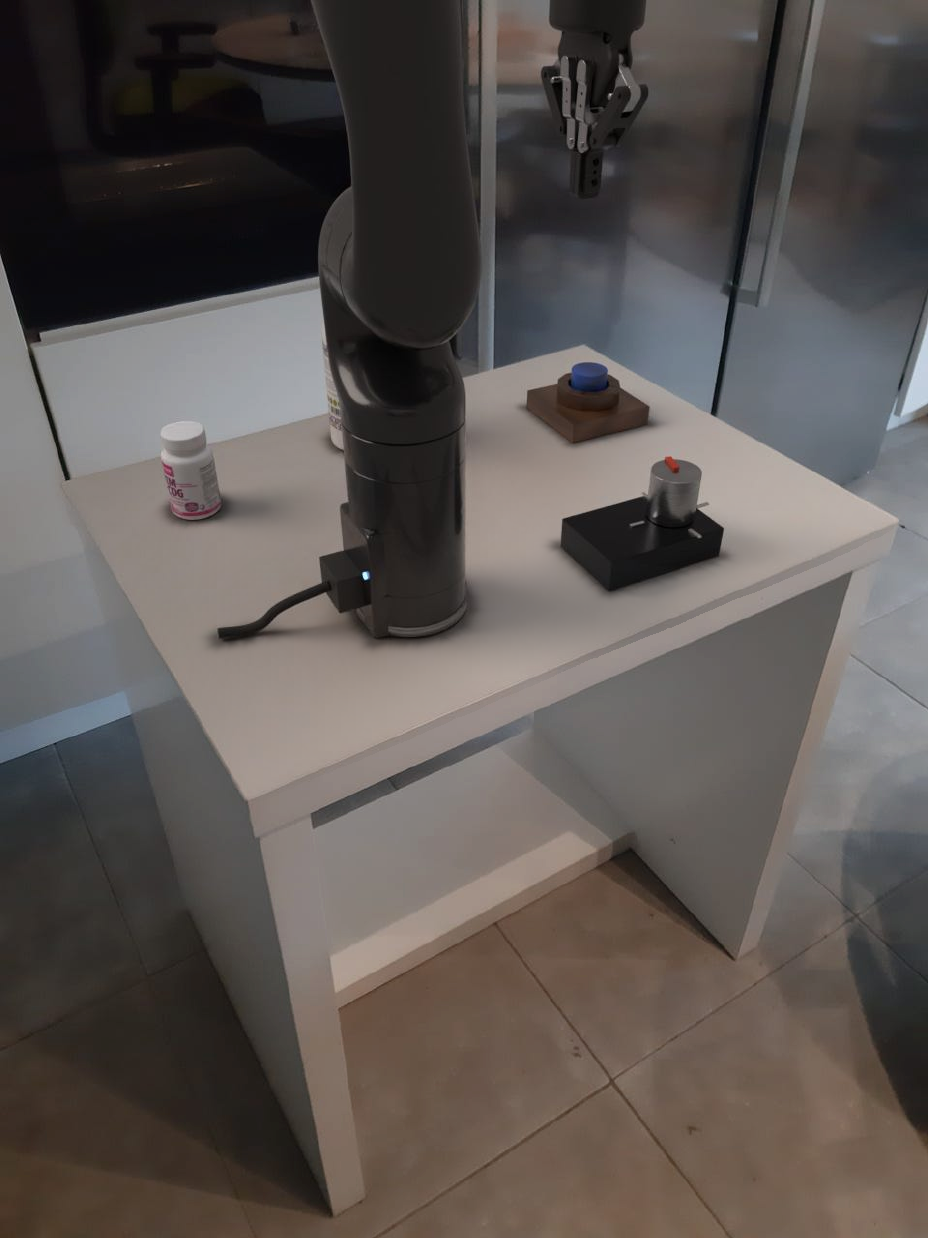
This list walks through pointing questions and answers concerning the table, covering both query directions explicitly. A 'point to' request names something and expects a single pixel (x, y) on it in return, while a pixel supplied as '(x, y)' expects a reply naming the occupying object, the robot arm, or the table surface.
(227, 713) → the table surface
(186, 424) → the pill bottle
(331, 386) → the bath foam
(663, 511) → the knob
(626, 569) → the panel
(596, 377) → the button
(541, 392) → the button block
